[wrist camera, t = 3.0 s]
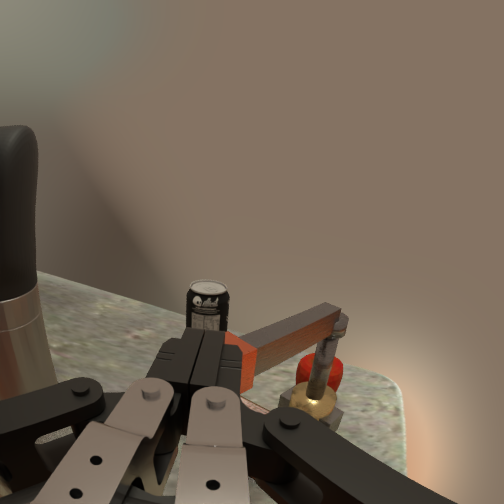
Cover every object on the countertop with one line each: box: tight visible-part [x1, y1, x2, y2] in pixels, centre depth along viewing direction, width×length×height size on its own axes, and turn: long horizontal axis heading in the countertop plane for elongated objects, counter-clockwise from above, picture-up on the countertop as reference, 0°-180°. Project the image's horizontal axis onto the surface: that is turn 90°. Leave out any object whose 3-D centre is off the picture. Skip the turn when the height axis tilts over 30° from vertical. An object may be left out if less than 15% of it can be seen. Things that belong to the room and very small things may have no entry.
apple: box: [296, 353, 343, 393], centre depth 39 cm, size 6×6×8 cm
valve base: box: [278, 338, 344, 432], centre depth 31 cm, size 7×5×15 cm
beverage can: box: [186, 280, 230, 332], centre depth 49 cm, size 7×7×12 cm
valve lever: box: [225, 302, 349, 394], centre depth 24 cm, size 18×3×3 cm, turn 134°
